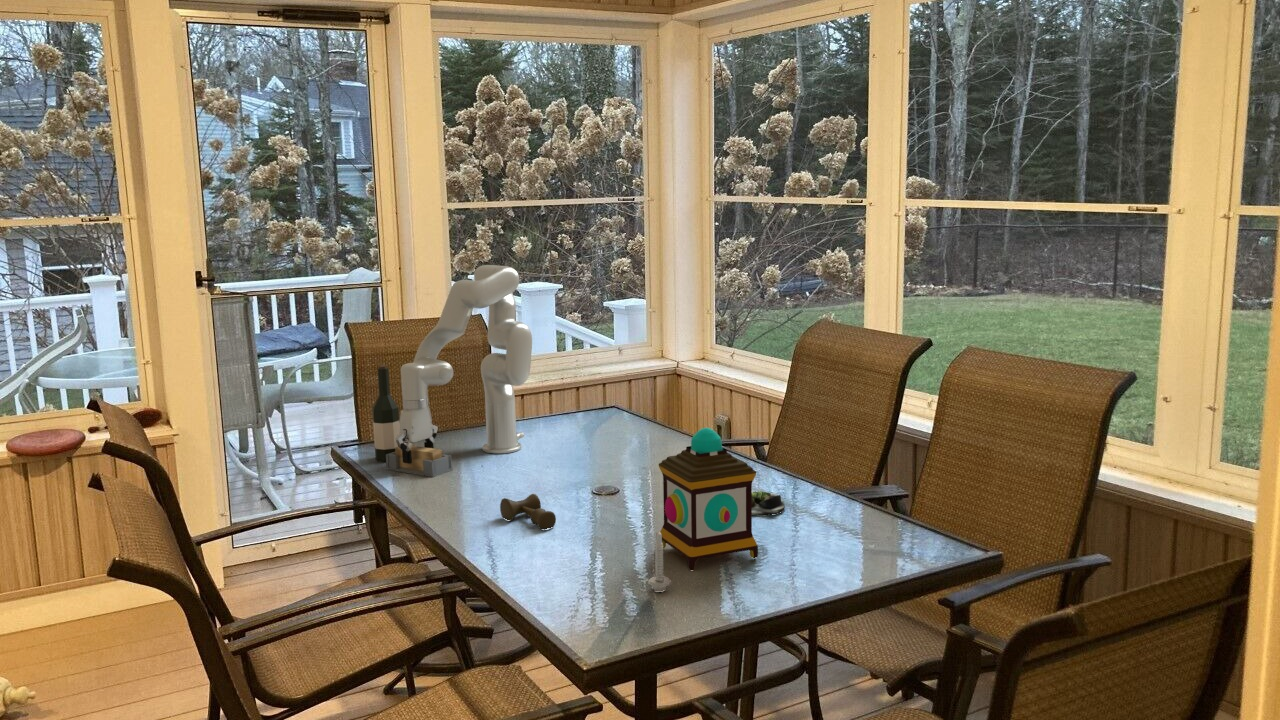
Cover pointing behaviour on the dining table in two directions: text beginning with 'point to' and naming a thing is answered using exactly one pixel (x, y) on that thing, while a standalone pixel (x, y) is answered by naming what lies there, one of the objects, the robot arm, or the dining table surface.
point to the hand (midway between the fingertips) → (418, 459)
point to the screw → (659, 567)
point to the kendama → (528, 511)
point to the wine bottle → (385, 418)
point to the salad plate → (766, 503)
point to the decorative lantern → (707, 500)
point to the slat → (418, 456)
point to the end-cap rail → (429, 466)
